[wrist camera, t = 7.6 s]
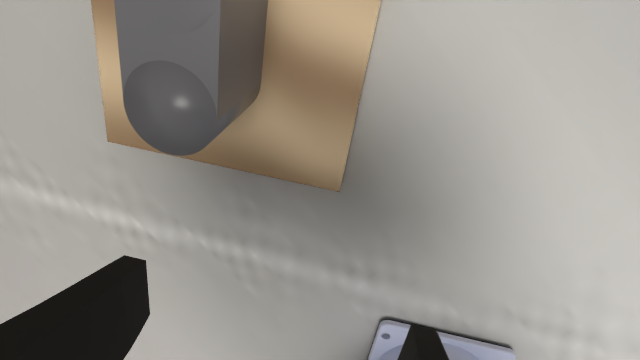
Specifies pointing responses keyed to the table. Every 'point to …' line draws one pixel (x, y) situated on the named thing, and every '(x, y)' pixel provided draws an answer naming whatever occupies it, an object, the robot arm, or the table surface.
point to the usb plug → (188, 67)
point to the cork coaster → (275, 92)
